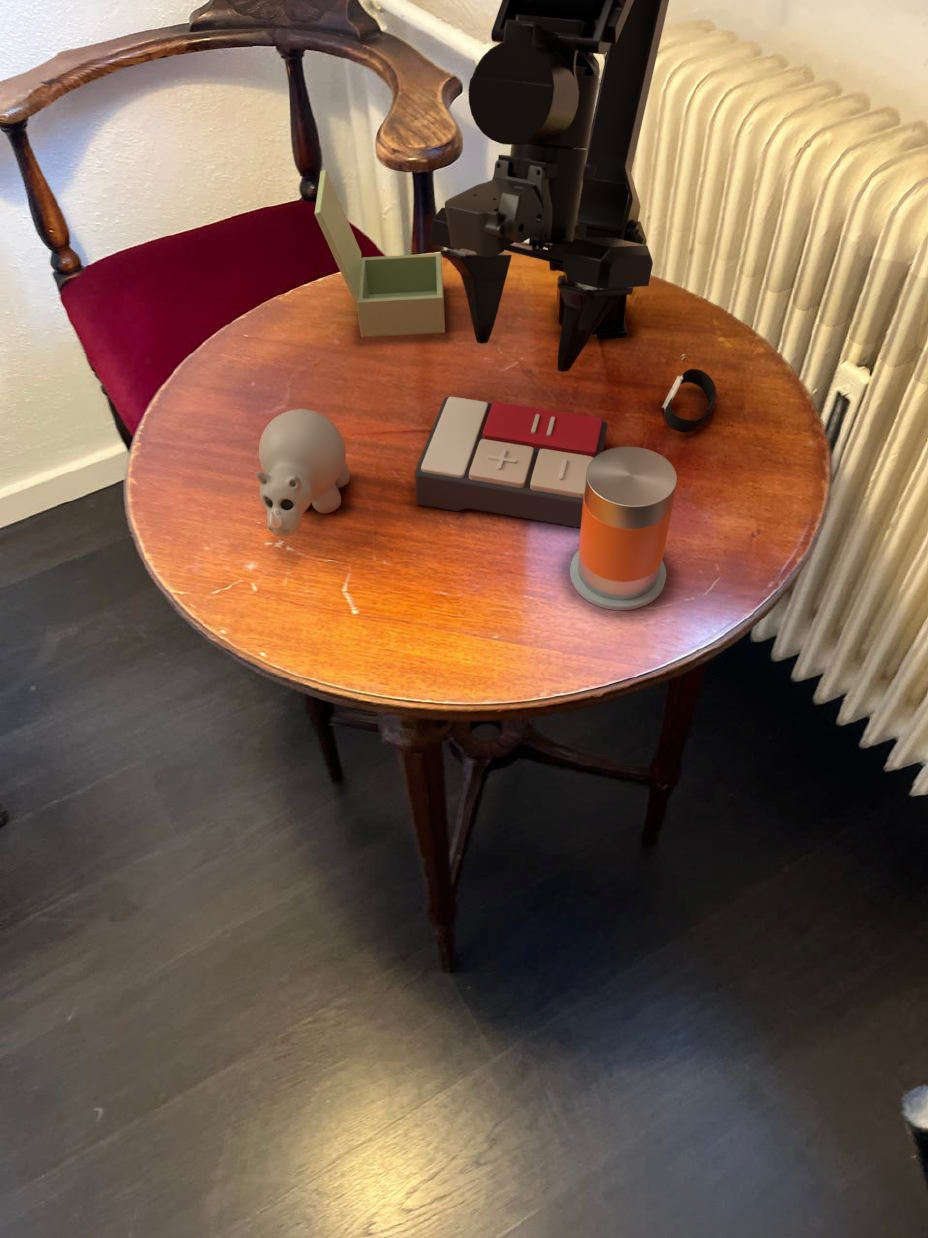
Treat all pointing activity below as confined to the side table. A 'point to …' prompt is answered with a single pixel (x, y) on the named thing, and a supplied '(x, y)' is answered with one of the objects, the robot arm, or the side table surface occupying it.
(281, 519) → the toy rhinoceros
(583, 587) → the coaster
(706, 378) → the watch
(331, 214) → the box lid
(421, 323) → the box
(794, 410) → the side table surface
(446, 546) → the side table surface
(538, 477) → the button control panel
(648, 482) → the can
